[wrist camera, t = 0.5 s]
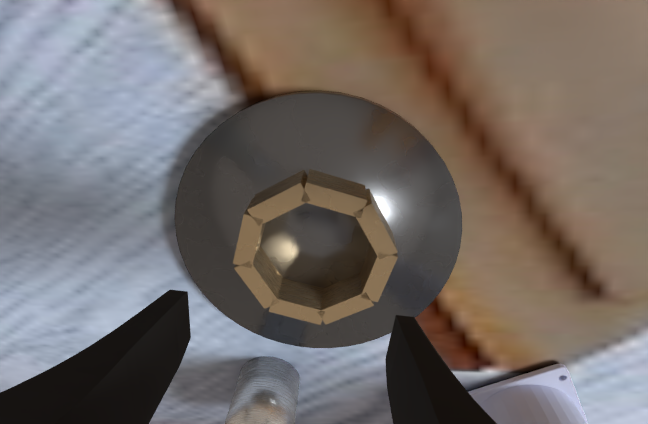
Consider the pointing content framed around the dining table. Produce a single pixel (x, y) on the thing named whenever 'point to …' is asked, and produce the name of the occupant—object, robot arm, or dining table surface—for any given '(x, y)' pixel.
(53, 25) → the dining table surface
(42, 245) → the dining table surface
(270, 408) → the piston
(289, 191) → the ring collar
